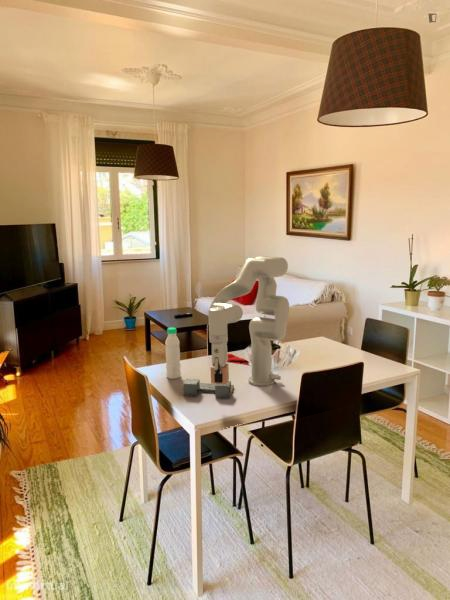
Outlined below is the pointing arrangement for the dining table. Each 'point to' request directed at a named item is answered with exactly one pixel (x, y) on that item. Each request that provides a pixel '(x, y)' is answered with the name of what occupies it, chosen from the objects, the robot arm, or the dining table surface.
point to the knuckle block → (224, 374)
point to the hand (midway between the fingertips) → (220, 379)
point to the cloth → (236, 359)
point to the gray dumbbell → (207, 388)
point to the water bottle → (172, 354)
